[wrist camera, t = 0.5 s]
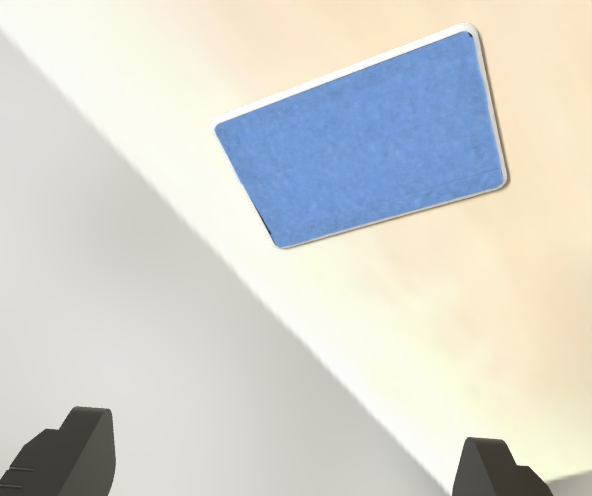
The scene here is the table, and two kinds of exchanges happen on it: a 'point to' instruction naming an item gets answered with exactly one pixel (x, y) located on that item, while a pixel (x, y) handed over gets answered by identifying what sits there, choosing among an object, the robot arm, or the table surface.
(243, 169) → the tablet computer
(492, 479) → the robot arm
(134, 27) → the table surface
